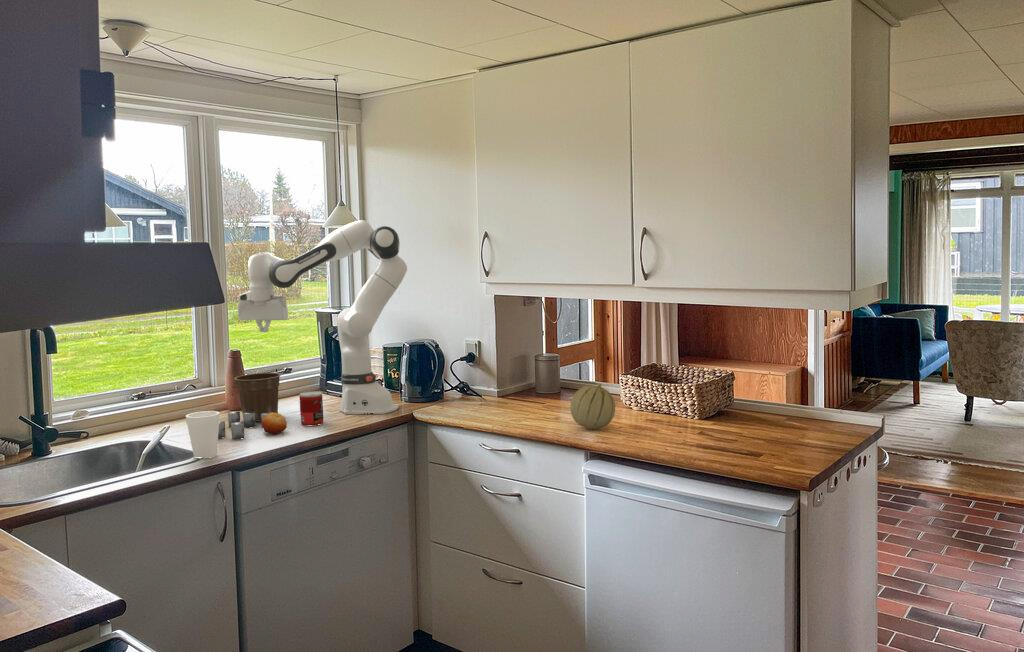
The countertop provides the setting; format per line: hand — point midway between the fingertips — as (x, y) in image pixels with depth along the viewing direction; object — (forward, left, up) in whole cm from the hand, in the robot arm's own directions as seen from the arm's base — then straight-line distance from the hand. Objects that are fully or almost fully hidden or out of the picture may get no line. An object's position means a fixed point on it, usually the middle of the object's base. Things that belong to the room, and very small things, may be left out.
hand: (264, 331), depth 296 cm
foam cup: (-20, +60, -31) cm, 71 cm away
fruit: (-23, +29, -31) cm, 49 cm away
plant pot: (-4, +11, -31) cm, 33 cm away
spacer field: (-8, +30, -31) cm, 44 cm away
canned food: (-28, +14, -31) cm, 44 cm away
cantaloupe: (-127, +2, -31) cm, 131 cm away
